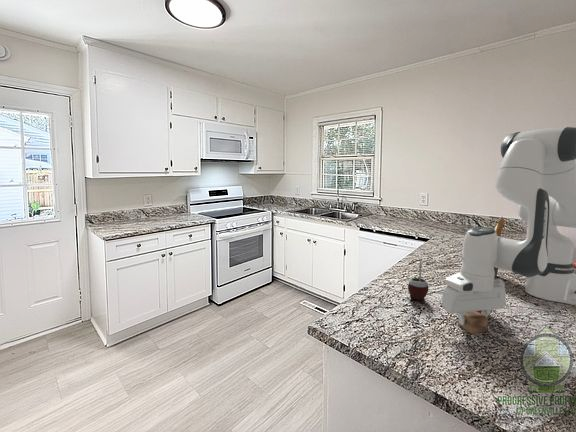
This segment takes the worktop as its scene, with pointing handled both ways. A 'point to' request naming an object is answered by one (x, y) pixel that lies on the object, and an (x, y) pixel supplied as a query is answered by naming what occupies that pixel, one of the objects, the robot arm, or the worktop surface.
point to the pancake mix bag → (498, 231)
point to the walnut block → (475, 322)
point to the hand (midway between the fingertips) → (472, 323)
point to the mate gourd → (418, 288)
